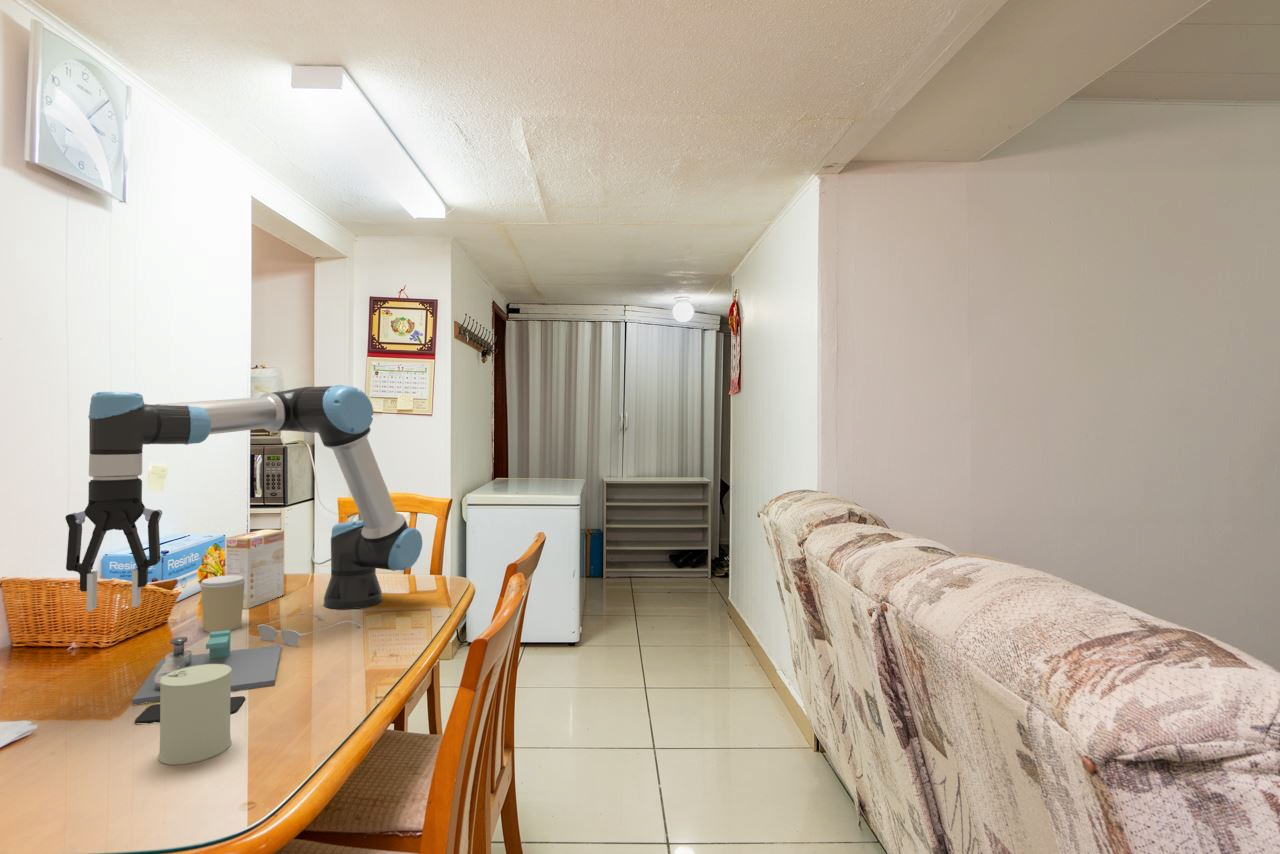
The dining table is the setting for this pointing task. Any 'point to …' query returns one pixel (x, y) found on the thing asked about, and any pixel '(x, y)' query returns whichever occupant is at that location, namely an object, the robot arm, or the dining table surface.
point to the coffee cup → (222, 602)
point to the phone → (153, 711)
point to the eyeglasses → (288, 632)
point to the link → (174, 659)
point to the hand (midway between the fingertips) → (114, 606)
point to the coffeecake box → (257, 564)
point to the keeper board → (246, 664)
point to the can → (194, 713)
